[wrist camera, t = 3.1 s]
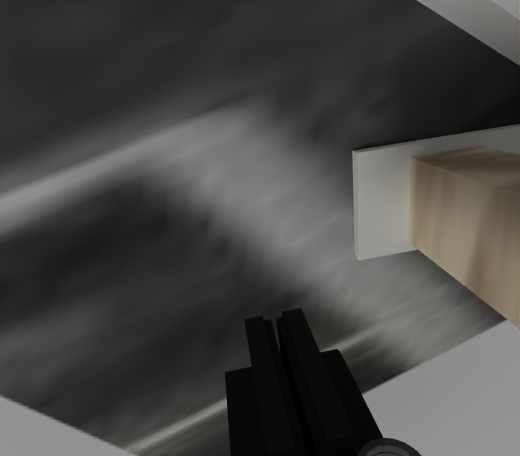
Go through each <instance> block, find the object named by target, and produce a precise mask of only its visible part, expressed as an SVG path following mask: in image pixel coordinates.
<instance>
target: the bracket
mask: <svg viewBox="0 0 520 456" xmlns="http://www.w3.org/2000/svg"><path fill="white" fill-rule="evenodd" d="M418 1H419V2H421V3H422V4H424V5H425V6H427V7H428V8H430V9H432V10H433V11H435V12H436V13H438V14H439V15H441V16H443V17H444V18H446V19H447V20H449V21H450V22H452V23H453V24H455V25H457V26H458V27H460V28H461V29H463V30H464V31H466V32H468V33H469V34H471V35H472V36H474V37H475V38H477V39H478V40H480V41H482V42H483V43H485V44H486V45H488V46H489V47H491V48H493V49H494V50H496V51H497V52H499V53H500V54H502V55H503V56H505V57H507V58H508V59H510V60H511V61H513V62H514V63H516V64H518V65H519V66H520V0H418Z"/></svg>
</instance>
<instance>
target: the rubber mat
mask: <svg viewBox="0 0 520 456" xmlns="http://www.w3.org/2000/svg"><path fill="white" fill-rule="evenodd" d="M476 146H484V147H489V148H493V149H498V150H502V151H506V152H511V153H515V154H520V124H516V125H510V126H503V127H497V128H491V129H485V130H478V131H472V132H466V133H460V134H454V135H447V136H441V137H435V138H429V139H423V140H416V141H410V142H404V143H398V144H391V145H385V146H379V147H373V148H367V149H360V150H354V151H352V153H353V198H354V243H355V257H356V258H357V259H358V260H359V261H360V260H365V259H370V258H375V257H381V256H386V255H391V254H397V253H402V252H407V251H413V250H418V249H417V248H416V247H414V246H413V245H412V244H410V243H409V242H408V241H407V238H408V215H409V193H410V170H411V157H415V156H421V155H427V154H433V153H439V152H445V151H451V150H458V149H464V148H470V147H476Z"/></svg>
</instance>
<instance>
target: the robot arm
mask: <svg viewBox="0 0 520 456" xmlns="http://www.w3.org/2000/svg"><path fill="white" fill-rule="evenodd" d="M244 321H245V327H246V333H247V339H248V345H249V351H250V357H251V363H252V367H248V368H243V369H238V370H233V371H228V372H225V380H226V395H227V409H228V423H229V437H230V452H231V456H421V455H420V454H419V453H418V452H417V451H416V450H415V449H414V448H412V447H411V446H409V445H407V444H406V443H404V442H401V441H399V440H396V439H391V438H383V436H382V434H381V432H380V430H379V428H378V426H377V424H376V422H375V420H374V418H373V416H372V414H371V412H370V410H369V408H368V406H367V404H366V402H365V400H364V399H363V396H362V394H361V392H360V390H359V388H358V386H357V384H356V382H355V380H354V378H353V376H352V374H351V372H350V370H349V368H348V367H347V365H346V363H345V361H344V359H343V357H342V355H341V353H340V351H339V350H338V349H334V350H330V351H325V352H320V351H319V349H318V347H317V344H316V342H315V339H314V337H313V335H312V332H311V330H310V328H309V325H308V323H307V321H306V318H305V316H304V314H303V311H302V309H301V308H299V309H293V310H288V311H283V312H282V317H279V318H276V323H277V330H278V338H279V345H280V351H279V347H278V344H277V340H276V336H275V333H274V329H273V326H272V322H271V319H269V320H264V319H263V316H258V317H253V318H247V319H244ZM280 353H281V354H280Z"/></svg>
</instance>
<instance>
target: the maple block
mask: <svg viewBox="0 0 520 456" xmlns="http://www.w3.org/2000/svg"><path fill="white" fill-rule="evenodd" d="M407 241H408V242H409V243H410V244H412V245H413V246H414V247H416V248H417V249H418V250H419V251H421V252H422V253H423V254H425V255H426V256H427V257H428V258H430V259H431V260H432V261H434V262H435V263H436V264H437V265H439V266H440V267H441V268H442V269H444V270H445V271H446V272H448V273H449V274H450V275H451V276H453V277H454V278H455V279H457V280H458V281H459V282H460V283H462V284H463V285H464V286H466V287H467V288H468V289H469V290H471V291H472V292H473V293H475V294H476V295H477V296H478V297H480V298H481V299H482V300H484V301H485V302H486V303H487V304H489V305H490V306H491V307H493V308H494V309H495V310H496V311H498V312H499V313H500V314H501V315H503V316H504V317H505V318H507V319H508V320H509V321H510V322H512V323H513V324H514V325H516V326H517V327H518V328H520V154H515V153H511V152H506V151H502V150H498V149H493V148H489V147H484V146H476V147H470V148H464V149H458V150H451V151H445V152H439V153H433V154H427V155H421V156H415V157H411V170H410V193H409V215H408V238H407Z"/></svg>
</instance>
